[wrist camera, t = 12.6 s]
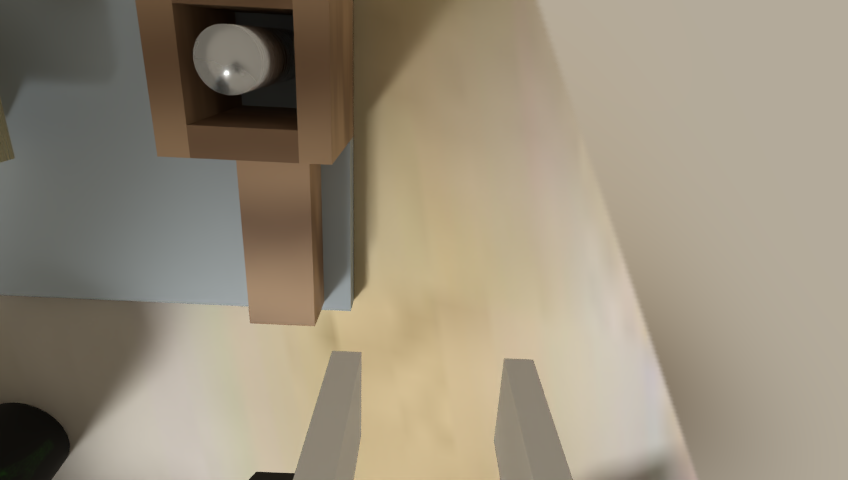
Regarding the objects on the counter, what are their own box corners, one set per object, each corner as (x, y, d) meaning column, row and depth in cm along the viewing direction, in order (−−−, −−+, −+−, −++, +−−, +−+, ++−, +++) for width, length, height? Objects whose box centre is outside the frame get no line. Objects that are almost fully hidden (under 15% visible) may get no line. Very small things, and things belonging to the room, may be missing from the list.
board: (-3, 284, 29) (-21, 294, 28) (-132, -173, 21) (-163, -185, 20) (353, 300, 29) (350, 310, 28) (352, -146, 21) (348, -156, 20)
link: (353, 303, 28) (335, 369, 22) (235, 297, 28) (186, 363, 22) (353, -12, 22) (328, -30, 17) (204, -20, 22) (129, -41, 17)
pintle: (260, 78, 24) (197, 93, 17) (257, 27, 23) (189, 22, 16) (308, 81, 24) (263, 96, 17) (306, 29, 23) (258, 25, 16)
